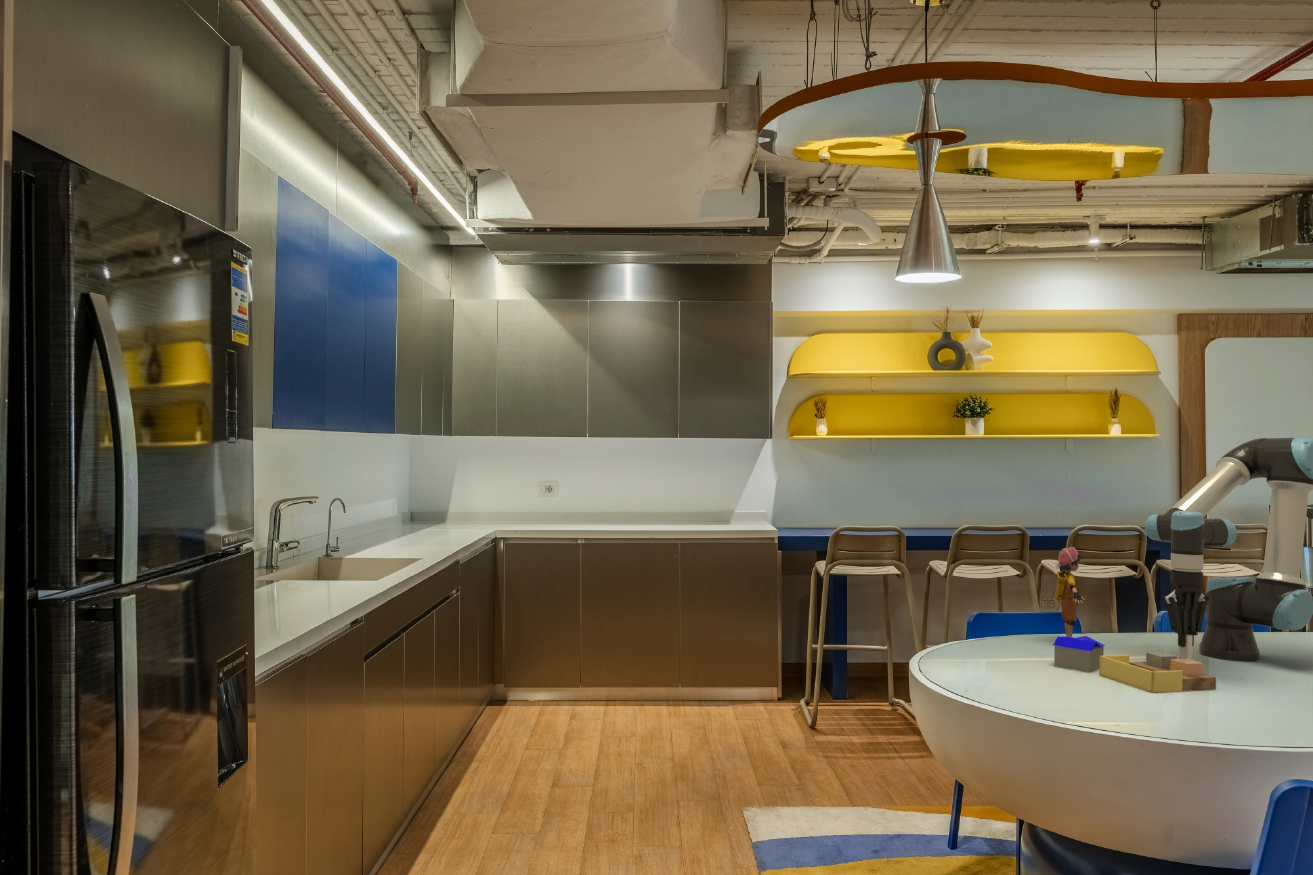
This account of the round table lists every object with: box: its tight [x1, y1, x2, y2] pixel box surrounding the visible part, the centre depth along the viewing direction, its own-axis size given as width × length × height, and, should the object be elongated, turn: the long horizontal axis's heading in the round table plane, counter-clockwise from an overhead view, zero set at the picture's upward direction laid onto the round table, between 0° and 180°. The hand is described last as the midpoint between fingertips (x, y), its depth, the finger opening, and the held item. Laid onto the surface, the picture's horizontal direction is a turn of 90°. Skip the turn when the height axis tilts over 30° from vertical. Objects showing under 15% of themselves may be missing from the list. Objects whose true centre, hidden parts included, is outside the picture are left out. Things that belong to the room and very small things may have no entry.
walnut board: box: [1129, 661, 1217, 692], centre depth 232 cm, size 10×18×3 cm, turn 14°
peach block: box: [1170, 658, 1204, 676], centre depth 229 cm, size 5×5×3 cm
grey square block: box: [1145, 651, 1178, 668], centre depth 236 cm, size 5×5×3 cm
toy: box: [1053, 546, 1086, 637], centre depth 277 cm, size 24×7×30 cm, turn 168°
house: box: [1052, 635, 1106, 673], centre depth 247 cm, size 10×11×8 cm
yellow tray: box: [1098, 654, 1183, 694], centre depth 230 cm, size 9×18×5 cm, turn 14°
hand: (1185, 658), depth 238 cm, fingers closed
